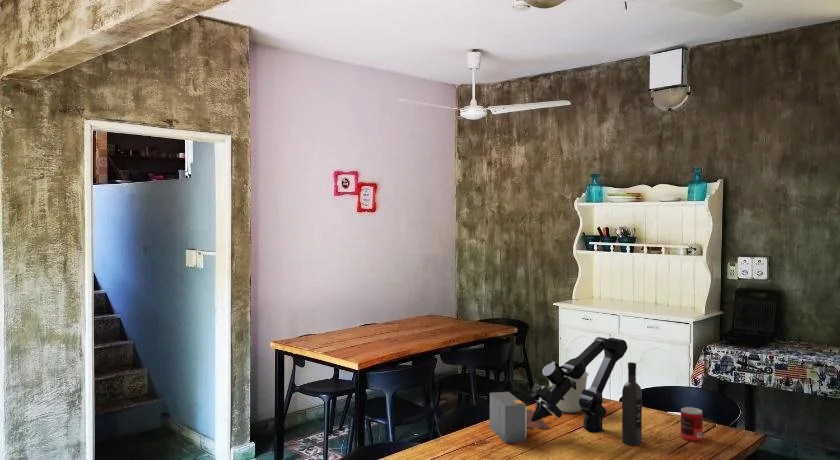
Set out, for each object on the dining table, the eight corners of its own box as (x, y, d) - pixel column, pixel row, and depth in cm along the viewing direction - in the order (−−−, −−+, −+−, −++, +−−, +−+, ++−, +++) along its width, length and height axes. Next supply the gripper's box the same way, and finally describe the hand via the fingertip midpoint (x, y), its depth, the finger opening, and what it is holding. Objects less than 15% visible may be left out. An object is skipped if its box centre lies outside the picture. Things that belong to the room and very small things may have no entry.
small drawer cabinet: (510, 426, 254) (510, 391, 253) (527, 441, 235) (527, 403, 235) (489, 427, 252) (489, 392, 252) (505, 443, 233) (505, 405, 233)
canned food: (701, 436, 241) (701, 408, 241) (703, 443, 234) (703, 413, 234) (680, 434, 244) (680, 406, 244) (681, 440, 236) (681, 411, 236)
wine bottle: (642, 443, 234) (642, 363, 234) (634, 446, 230) (635, 365, 230) (628, 439, 238) (629, 360, 238) (620, 442, 234) (621, 362, 234)
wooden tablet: (550, 430, 250) (550, 426, 250) (525, 431, 249) (525, 426, 249) (534, 411, 276) (534, 407, 276) (512, 411, 276) (512, 407, 276)
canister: (551, 402, 288) (551, 356, 288) (591, 406, 281) (591, 360, 281) (542, 412, 272) (542, 364, 272) (585, 417, 265) (585, 368, 265)
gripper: (535, 371, 249) (509, 400, 247) (554, 382, 231) (526, 414, 229) (554, 389, 251) (528, 418, 249) (574, 402, 232) (546, 434, 230)
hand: (532, 420), depth 239 cm, fingers closed
